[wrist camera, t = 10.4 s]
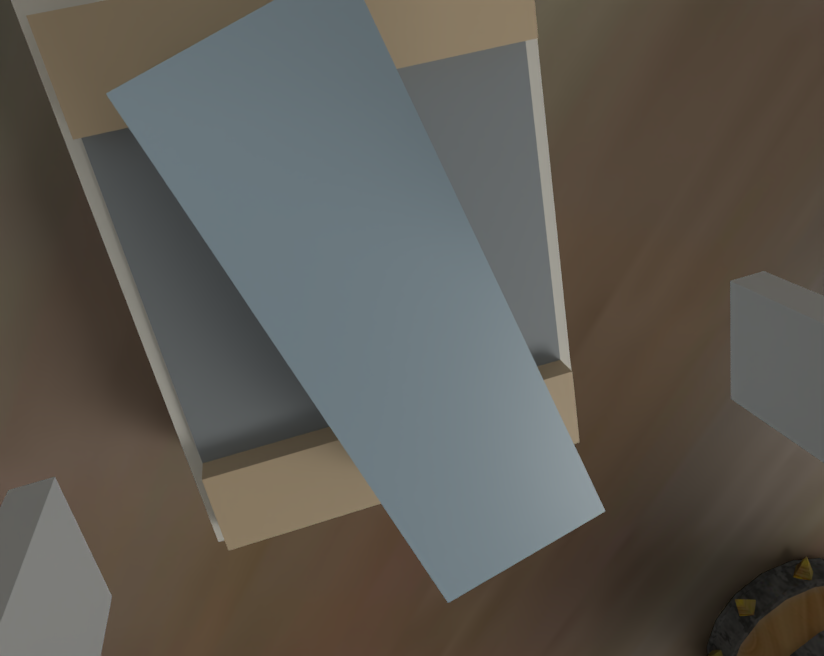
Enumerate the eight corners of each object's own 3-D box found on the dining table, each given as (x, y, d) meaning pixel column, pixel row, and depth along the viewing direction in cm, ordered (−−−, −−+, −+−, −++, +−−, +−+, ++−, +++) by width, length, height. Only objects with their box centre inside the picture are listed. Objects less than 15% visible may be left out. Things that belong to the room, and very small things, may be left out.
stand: (219, 453, 31) (218, 566, 24) (59, 7, 24) (-5, -3, 17) (519, 367, 33) (593, 449, 26) (460, -70, 26) (541, -105, 19)
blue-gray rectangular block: (399, 479, 25) (448, 603, 20) (140, 76, 18) (105, 93, 13) (523, 408, 25) (605, 510, 20) (310, -19, 18) (345, -40, 13)
